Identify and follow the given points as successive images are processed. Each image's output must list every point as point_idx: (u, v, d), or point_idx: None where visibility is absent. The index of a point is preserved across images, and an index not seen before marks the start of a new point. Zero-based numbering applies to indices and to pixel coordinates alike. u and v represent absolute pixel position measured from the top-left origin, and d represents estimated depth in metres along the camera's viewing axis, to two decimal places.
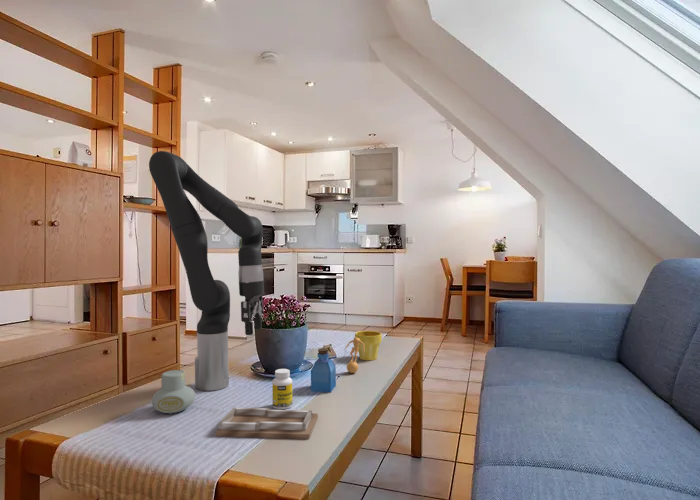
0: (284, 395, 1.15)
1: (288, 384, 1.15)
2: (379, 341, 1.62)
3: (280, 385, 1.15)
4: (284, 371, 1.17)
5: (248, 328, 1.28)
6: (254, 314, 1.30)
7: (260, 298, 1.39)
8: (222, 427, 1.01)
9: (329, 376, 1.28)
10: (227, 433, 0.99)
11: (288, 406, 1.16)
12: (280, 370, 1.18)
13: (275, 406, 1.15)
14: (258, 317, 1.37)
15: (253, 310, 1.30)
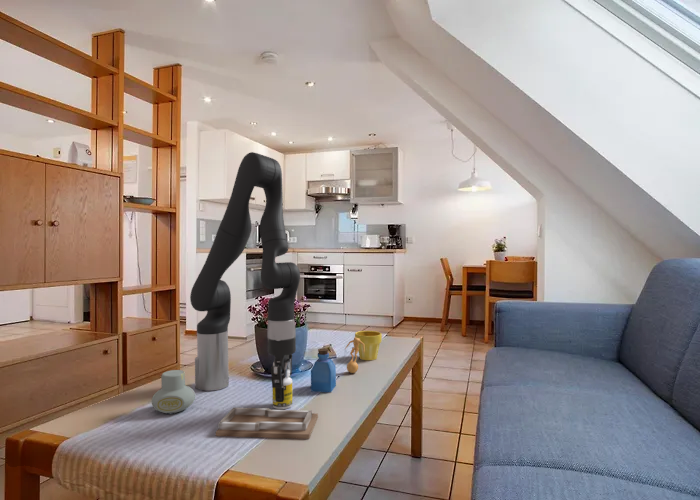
0: (284, 395, 1.15)
1: (288, 384, 1.15)
2: (379, 341, 1.62)
3: None
4: None
5: (279, 394, 1.13)
6: (285, 377, 1.14)
7: (289, 356, 1.23)
8: (222, 427, 1.01)
9: (329, 376, 1.28)
10: (227, 433, 0.99)
11: (288, 406, 1.16)
12: None
13: (275, 406, 1.15)
14: None
15: (284, 373, 1.14)
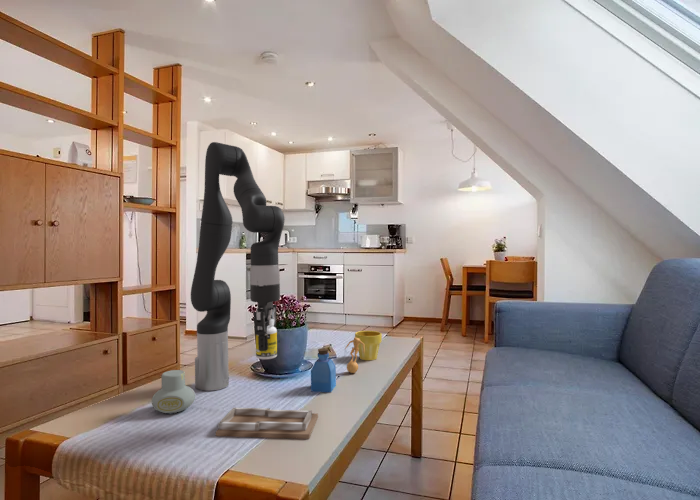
0: (268, 344, 1.09)
1: (272, 333, 1.09)
2: (379, 341, 1.62)
3: None
4: None
5: (262, 343, 1.07)
6: (269, 325, 1.08)
7: (274, 307, 1.17)
8: (222, 427, 1.01)
9: (329, 376, 1.28)
10: (227, 433, 0.99)
11: (272, 356, 1.10)
12: None
13: (259, 356, 1.09)
14: None
15: (268, 321, 1.08)
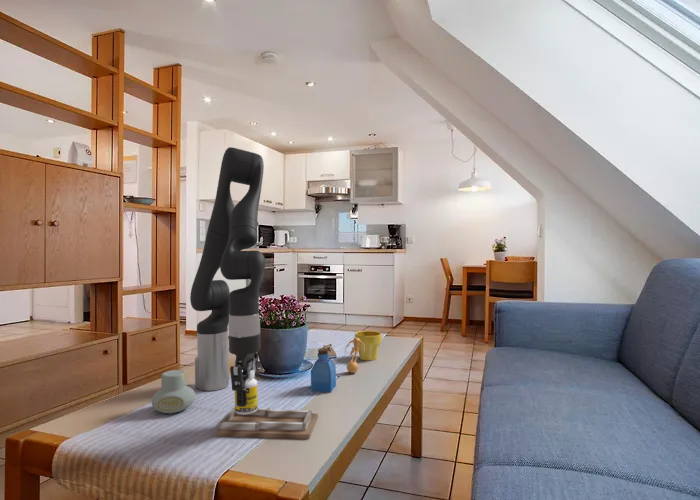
0: (247, 399, 1.03)
1: (252, 387, 1.03)
2: (379, 341, 1.62)
3: None
4: None
5: (240, 398, 1.01)
6: (248, 379, 1.02)
7: (255, 355, 1.10)
8: (222, 427, 1.01)
9: (329, 376, 1.28)
10: (227, 433, 0.99)
11: (252, 411, 1.03)
12: None
13: (237, 411, 1.03)
14: None
15: (246, 374, 1.02)
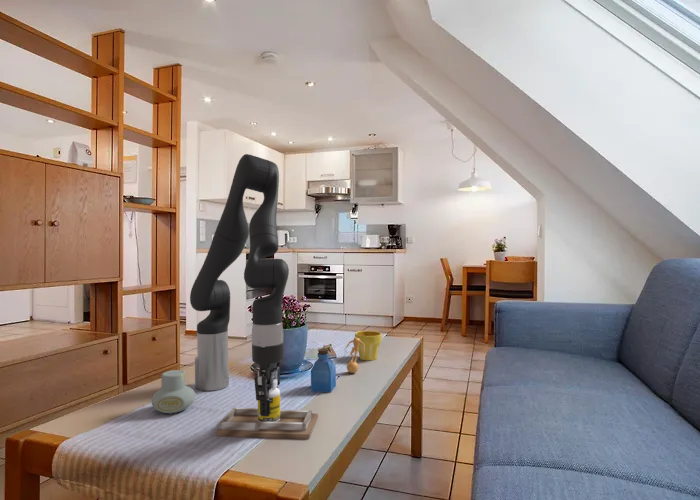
0: (271, 409, 1.02)
1: (275, 396, 1.02)
2: (379, 341, 1.62)
3: None
4: None
5: (264, 408, 1.00)
6: (272, 388, 1.01)
7: (277, 364, 1.10)
8: (222, 427, 1.01)
9: (329, 376, 1.28)
10: (227, 433, 0.99)
11: (275, 421, 1.02)
12: None
13: None
14: None
15: (270, 384, 1.01)
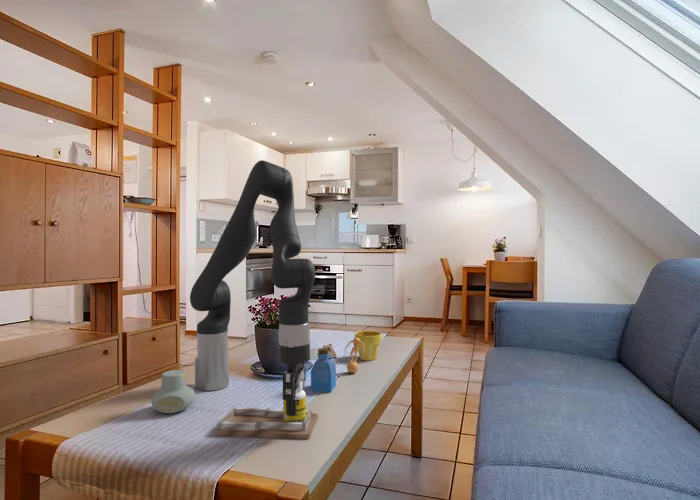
0: (297, 411, 1.01)
1: (301, 398, 1.02)
2: (379, 341, 1.62)
3: None
4: None
5: (290, 407, 0.98)
6: (298, 388, 1.00)
7: None
8: (222, 427, 1.01)
9: (329, 376, 1.28)
10: (227, 433, 0.99)
11: None
12: None
13: None
14: None
15: (297, 383, 1.00)
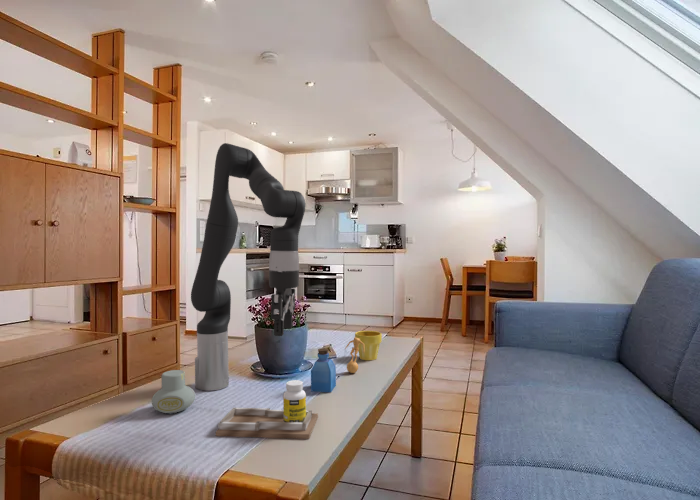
0: (297, 411, 1.01)
1: (301, 398, 1.02)
2: (379, 341, 1.62)
3: (292, 399, 1.01)
4: (297, 383, 1.03)
5: (278, 327, 1.04)
6: (286, 311, 1.06)
7: (292, 291, 1.15)
8: (222, 427, 1.01)
9: (329, 376, 1.28)
10: (227, 433, 0.99)
11: None
12: (291, 381, 1.04)
13: None
14: (289, 314, 1.14)
15: (285, 306, 1.06)
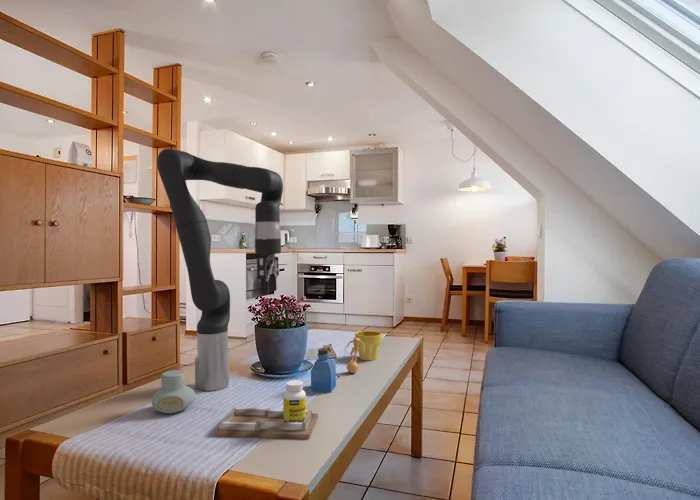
0: (297, 411, 1.01)
1: (301, 398, 1.02)
2: (379, 341, 1.62)
3: (292, 399, 1.01)
4: (297, 383, 1.03)
5: (264, 287, 1.21)
6: (270, 273, 1.23)
7: (276, 259, 1.32)
8: (222, 427, 1.01)
9: (329, 376, 1.28)
10: (227, 433, 0.99)
11: None
12: (291, 381, 1.04)
13: None
14: (273, 278, 1.30)
15: (269, 269, 1.23)
